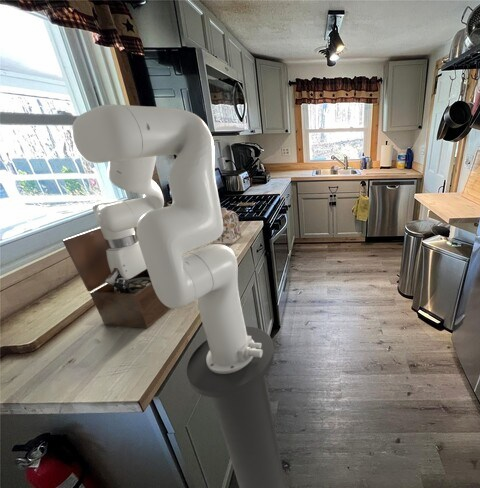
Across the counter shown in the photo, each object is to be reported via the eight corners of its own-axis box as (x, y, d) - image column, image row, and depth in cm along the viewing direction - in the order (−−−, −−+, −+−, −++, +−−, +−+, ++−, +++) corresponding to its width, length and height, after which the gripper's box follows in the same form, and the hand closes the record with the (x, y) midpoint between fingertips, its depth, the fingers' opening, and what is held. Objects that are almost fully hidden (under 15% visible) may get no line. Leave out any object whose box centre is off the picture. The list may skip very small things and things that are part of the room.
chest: (185, 295, 95) (176, 266, 90) (147, 328, 79) (134, 295, 74) (148, 293, 97) (137, 265, 93) (104, 324, 81) (89, 292, 77)
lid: (121, 220, 86) (119, 220, 86) (64, 240, 70) (62, 240, 70) (138, 264, 92) (136, 264, 92) (89, 291, 76) (87, 291, 77)
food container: (170, 300, 91) (162, 275, 87) (161, 311, 85) (152, 284, 81) (134, 302, 90) (125, 277, 86) (123, 313, 85) (112, 287, 81)
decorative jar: (242, 236, 150) (236, 206, 143) (233, 244, 139) (227, 211, 132) (222, 236, 151) (216, 206, 144) (212, 244, 140) (205, 212, 133)
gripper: (135, 231, 87) (151, 275, 93) (83, 252, 71) (106, 304, 78) (154, 231, 85) (169, 276, 92) (106, 253, 70) (128, 305, 76)
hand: (140, 289), depth 85 cm, fingers open, 9 cm apart
